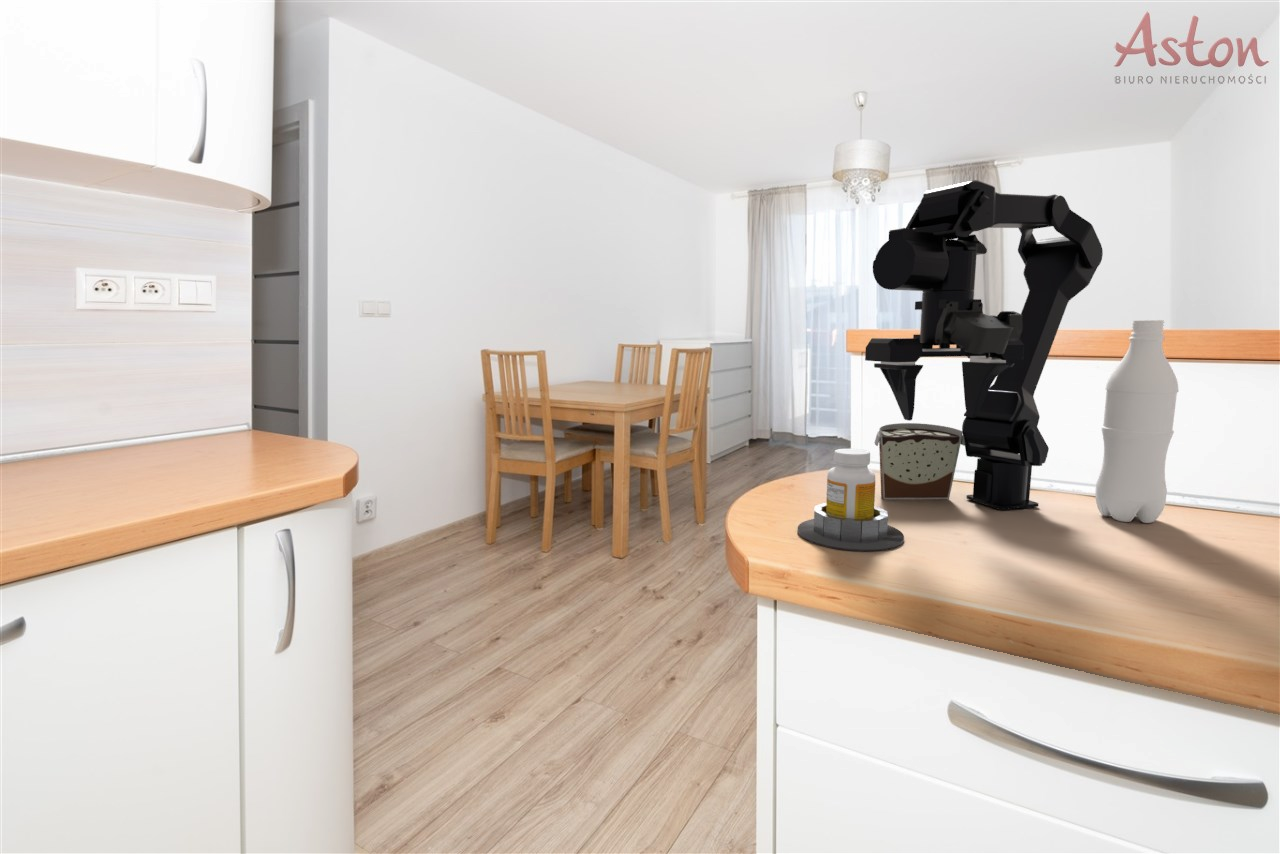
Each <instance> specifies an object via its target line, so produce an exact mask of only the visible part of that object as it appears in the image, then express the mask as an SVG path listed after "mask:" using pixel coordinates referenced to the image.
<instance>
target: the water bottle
mask: <svg viewBox="0 0 1280 854" xmlns="http://www.w3.org/2000/svg"><path fill="white" fill-rule="evenodd" d="M1164 324H1165V321H1164V320H1162V319H1159V320H1158V319H1157V320H1149V319H1148V320H1132V327H1131V328H1132V332H1130V337H1128V339H1127V340H1128V341H1130V343H1129V347H1128V349H1127V352H1126V353H1125V355H1124V356H1123V357H1122V359H1121V360H1120V362H1119V363H1118V364H1117V365H1116V367H1115V368H1114V370H1113V371H1112V373H1111V374H1110V376H1109V378H1108V379H1107V382H1106V385H1105V390H1106V394H1105V406H1104V412H1103V413H1104V415H1103V425H1102V426H1101V432H1102V439H1103V457H1102V464H1101V469H1100V472H1099V475H1098V478H1097V480H1096V483H1095V492H1094V493H1095V496H1094V497H1095V503H1096V506H1097V509H1098V511H1099V513H1100V514H1101V515H1102V516H1104V517H1110V516H1111V517H1112V519H1114V520H1116V521H1119V522H1123V523H1128V522H1129V523H1130V522H1132V520H1133V519H1134V518H1135V517H1137V519H1139V520H1140V522H1142V523H1143V524H1151V523H1155V522H1156V520H1158V518H1159V517H1160V516H1161V515H1162V513H1163V511H1164V509H1165V506H1166V503H1167V493H1168V489H1167V484H1166V472H1165V471H1166V470H1165V469H1166V460H1167V454H1168V450H1169V446H1170V443H1171V440H1172V437H1173V435H1174V433H1175V431H1174V430H1173V427H1174V418H1175V411H1176V403H1177V395H1178V392H1179V381H1178V379H1177V377H1176V375H1175V372H1174V370H1173V369H1172V366H1171V364H1170V363H1169V361H1168V359H1167V357H1166V356H1165V353H1164V350H1163V349H1164V348H1163V341H1166V338H1165V337H1164V336H1163V335H1165V333H1164V331H1163V330H1164V326H1165V325H1164Z"/></svg>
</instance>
